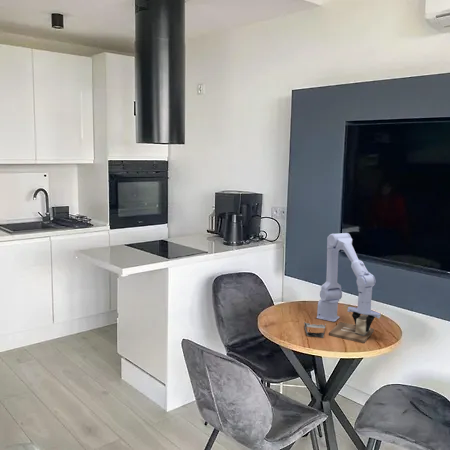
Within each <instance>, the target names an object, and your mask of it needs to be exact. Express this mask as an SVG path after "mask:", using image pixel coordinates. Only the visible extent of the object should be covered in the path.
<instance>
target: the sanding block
mask: <svg viewBox="0 0 450 450" xmlns="http://www.w3.org/2000/svg"><path fill="white" fill-rule="evenodd" d="M366 317H368V315H363V314H361V315H360V317H359V318H357V319H356V331H355V334H357V335H361V336H365V335H366V334H367V333H368V332H369V331H370V329H369V331H368V332H366V326H367V321H366Z"/></svg>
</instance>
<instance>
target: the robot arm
mask: <svg viewBox="0 0 450 450" xmlns="http://www.w3.org/2000/svg"><path fill="white" fill-rule="evenodd" d="M326 237H327V239H326V274H325V275H326V278H325V282H324V283H323V284H322V285H321V286H320V292H319V297H320V299H319V300H318V301H317V312H316V319H319V320H322V321H323V320H324V321H329V322H334V323H335V322H337V320H339V319H340V316H339V315H338V306H339V305H338V304H339V302H340V300H342V298H343V291H342V285H341V284H339V283H338V274H339V272H338V271H339V267H338V266H339V252H340V250H341V251H344V254H345V255H346V256H347V258H348V259H349V261H350V262H351V265H350V268H351V270H352V271H353V274H354V276H355V277H356V281H355V282H356V286H357V291H358V298H357V307H353V306H348V307H347V310H346V311H347V312H348V313H352V314H351V317H352V319H353V321H354V325H356V319H357V318H359V317H360V316H361V315H362V314H363V315H367V316H368V317H366V321H367V326H366V332H368V331H369V329H370V328H371V325H372V323H373V321H374V319H375V318H377V319H380V318H381V316H382V314H381V312H377V311H375V310H372V296H373V287H375V285H376V283H377V281H376V277H375V275H373V274H372V273H371V272H370V271H368V269H367V267H366V266H365V263H364V262H363V260H361V259H359V258H358V255H357V253H356V251H355V248H354V246H353V238H352V236H351V234H350V233H349V232H342V233H330V234H329V235H328V236H326Z"/></svg>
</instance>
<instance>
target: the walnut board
mask: <svg viewBox="0 0 450 450" xmlns="http://www.w3.org/2000/svg"><path fill="white" fill-rule="evenodd" d="M355 331H356V325H355V324H353V323H347V322H342V321H339V323H338V324H336V326H334V327H333V328H332V329H331V330H330V331H329V332H328V336H331V337H334V338H339V339H344V340H348V341H352V342H356V343H362V344H365V343H366V341H367V340H368V339H369V338H370V337H371V336H372V334H373V333H374V332H375V328H371V327H370V331H369V332H368V333H367V334H366V335H365V336H361V335H357V334H355Z"/></svg>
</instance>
